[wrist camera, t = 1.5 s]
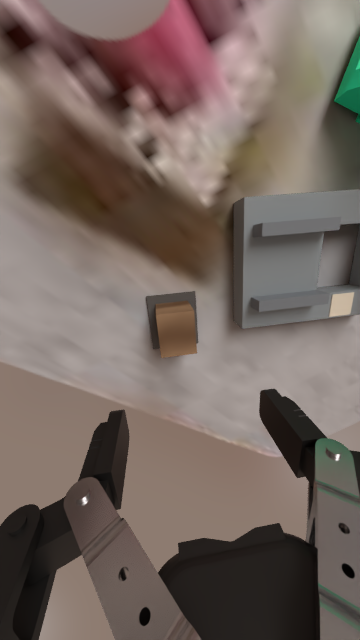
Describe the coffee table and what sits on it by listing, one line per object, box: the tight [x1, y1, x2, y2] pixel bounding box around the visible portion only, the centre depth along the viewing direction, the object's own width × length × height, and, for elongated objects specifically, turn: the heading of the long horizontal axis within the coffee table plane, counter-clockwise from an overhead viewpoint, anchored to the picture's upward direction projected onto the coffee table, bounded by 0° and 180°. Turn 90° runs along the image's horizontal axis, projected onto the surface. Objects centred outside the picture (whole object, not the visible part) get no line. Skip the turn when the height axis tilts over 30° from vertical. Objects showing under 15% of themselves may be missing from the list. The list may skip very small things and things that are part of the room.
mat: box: [146, 291, 198, 349], centre depth 27 cm, size 7×6×1 cm
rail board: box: [234, 189, 360, 329], centre depth 24 cm, size 14×18×6 cm
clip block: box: [156, 301, 197, 358], centre depth 25 cm, size 5×4×4 cm
